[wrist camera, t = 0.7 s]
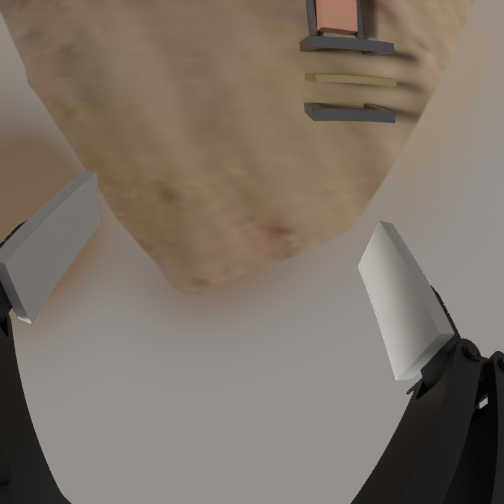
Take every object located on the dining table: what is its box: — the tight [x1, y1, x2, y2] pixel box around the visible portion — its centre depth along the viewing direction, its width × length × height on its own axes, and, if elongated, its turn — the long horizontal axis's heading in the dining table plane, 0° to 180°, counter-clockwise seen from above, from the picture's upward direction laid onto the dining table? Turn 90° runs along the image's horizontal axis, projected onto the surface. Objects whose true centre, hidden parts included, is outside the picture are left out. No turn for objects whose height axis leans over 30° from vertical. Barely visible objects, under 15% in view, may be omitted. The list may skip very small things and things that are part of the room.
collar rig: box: [299, 0, 396, 123], centre depth 23 cm, size 19×9×8 cm, turn 6°
